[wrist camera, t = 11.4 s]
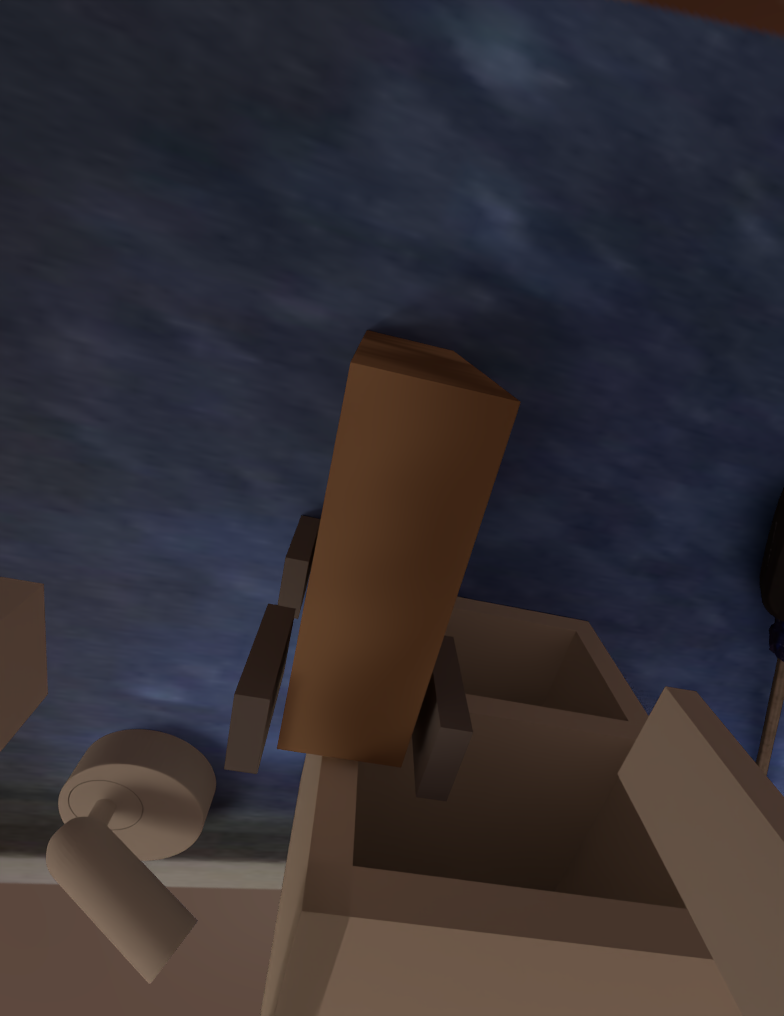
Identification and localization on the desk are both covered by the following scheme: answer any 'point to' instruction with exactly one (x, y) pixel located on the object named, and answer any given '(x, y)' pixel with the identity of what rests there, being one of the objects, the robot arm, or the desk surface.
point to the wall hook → (131, 838)
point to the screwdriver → (773, 628)
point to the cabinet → (476, 839)
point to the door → (392, 545)
